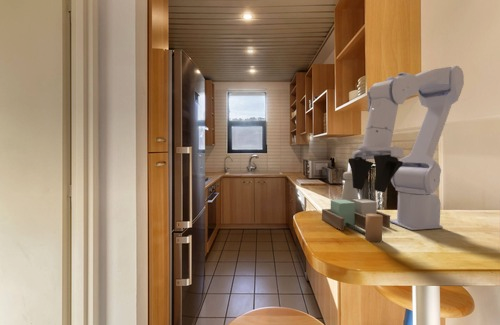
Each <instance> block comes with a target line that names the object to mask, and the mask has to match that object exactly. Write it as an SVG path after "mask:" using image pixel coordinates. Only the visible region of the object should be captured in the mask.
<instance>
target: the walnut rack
mask: <svg viewBox="0 0 500 325" xmlns="http://www.w3.org/2000/svg"><path fill="white" fill-rule="evenodd" d="M377 214H379V215H382V216H383V225H382V227H386V228H391V222H390V220H391V215H389V214H386V213H384V212H381V211H378V210H377ZM321 221H324V222H326V223H327V224H328V225H330V226H333V228H336V229H337V228H338V229H337V230H339V229H340V231H344V230H345V226H344V218H342V217H340V216H338V215H336V214H334V213H332V212H331V208H325V209H324V208H322V210H321ZM354 225H356V226H358V227H359V228H361V229H363V230H366V216H364V215H361V214H359V213H357V212H355V221H354Z"/></svg>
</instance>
